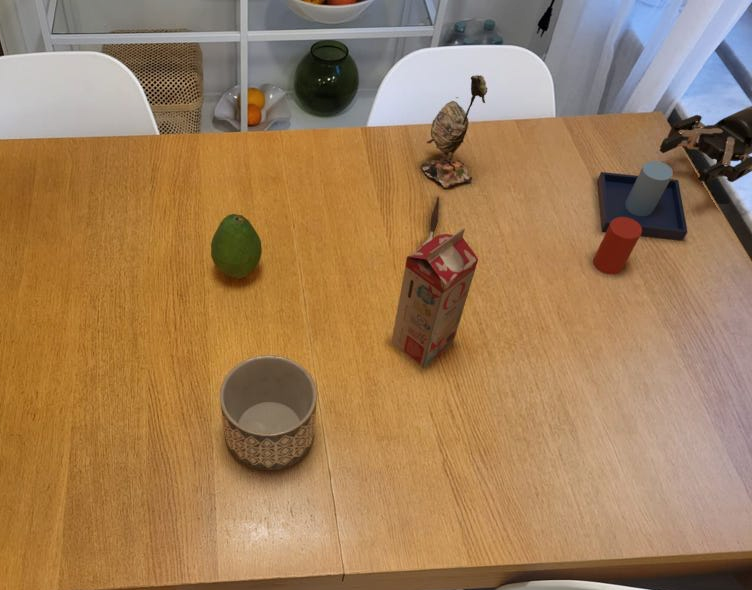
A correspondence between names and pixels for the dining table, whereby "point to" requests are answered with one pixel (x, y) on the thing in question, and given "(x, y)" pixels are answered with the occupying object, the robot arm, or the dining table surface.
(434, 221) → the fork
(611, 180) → the blue tray
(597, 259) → the red cylinder
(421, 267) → the juice carton
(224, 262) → the fruit
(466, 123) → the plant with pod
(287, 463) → the planter
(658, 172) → the blue pin
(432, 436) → the dining table surface
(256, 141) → the dining table surface
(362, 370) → the dining table surface
